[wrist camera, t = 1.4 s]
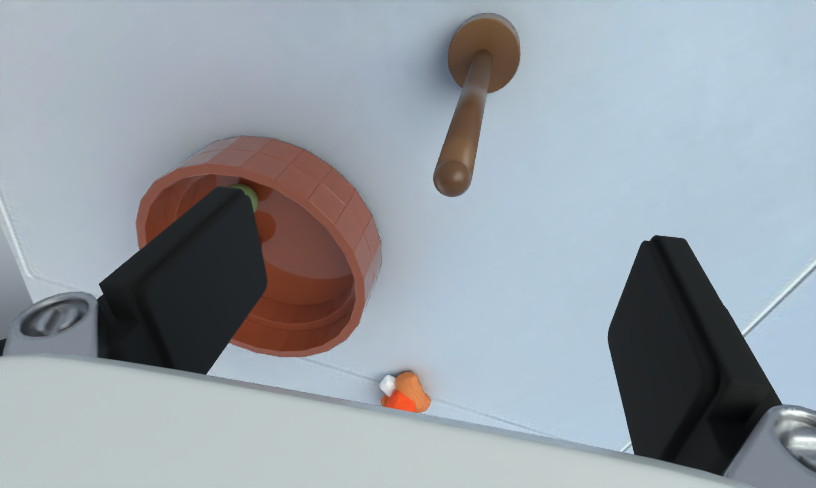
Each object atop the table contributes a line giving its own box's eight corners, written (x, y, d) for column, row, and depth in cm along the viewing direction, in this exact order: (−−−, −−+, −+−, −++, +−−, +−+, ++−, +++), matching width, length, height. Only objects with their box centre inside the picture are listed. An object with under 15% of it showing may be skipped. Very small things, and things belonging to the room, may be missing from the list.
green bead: (228, 175, 38) (208, 192, 36) (261, 179, 38) (243, 196, 35) (235, 206, 40) (217, 223, 37) (267, 210, 39) (250, 228, 37)
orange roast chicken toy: (371, 406, 54) (340, 509, 44) (388, 358, 48) (356, 464, 39) (419, 422, 54) (398, 529, 44) (441, 375, 48) (422, 486, 39)
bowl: (153, 123, 37) (99, 152, 32) (380, 144, 34) (358, 179, 29) (209, 298, 48) (175, 339, 44) (384, 326, 46) (369, 372, 41)
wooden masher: (454, 11, 28) (377, 108, 12) (525, 14, 27) (538, 121, 12) (449, 82, 31) (380, 238, 15) (514, 87, 30) (512, 254, 14)
